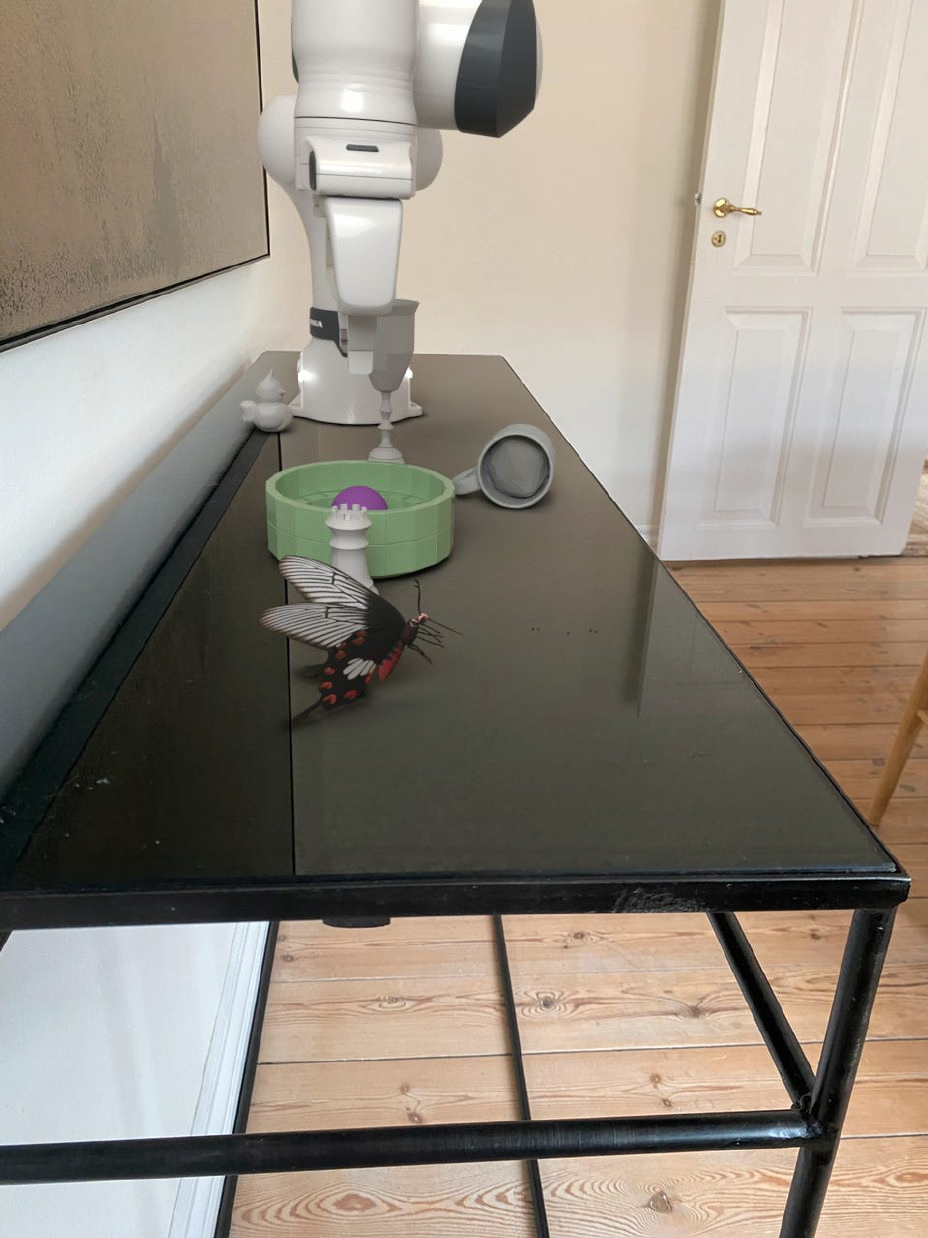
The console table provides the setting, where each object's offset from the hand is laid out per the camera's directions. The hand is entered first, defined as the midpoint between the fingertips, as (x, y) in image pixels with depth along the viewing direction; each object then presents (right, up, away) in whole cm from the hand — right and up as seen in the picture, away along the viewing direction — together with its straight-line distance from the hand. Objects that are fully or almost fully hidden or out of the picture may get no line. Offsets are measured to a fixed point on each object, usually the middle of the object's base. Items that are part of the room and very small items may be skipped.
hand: (355, 361), depth 74 cm
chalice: (0, -4, +31) cm, 31 cm away
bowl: (0, -15, +6) cm, 16 cm away
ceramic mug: (+13, -8, +23) cm, 27 cm away
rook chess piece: (0, -20, -5) cm, 21 cm away
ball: (0, -12, +5) cm, 13 cm away
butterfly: (+2, -26, -18) cm, 32 cm away
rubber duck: (-16, +3, +45) cm, 48 cm away
